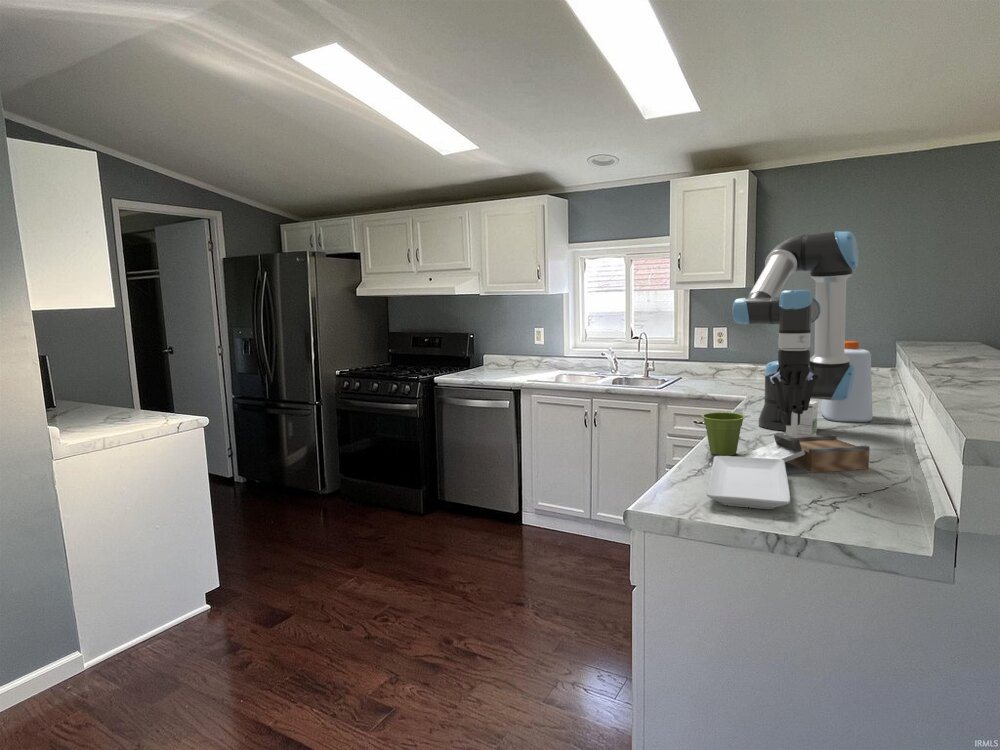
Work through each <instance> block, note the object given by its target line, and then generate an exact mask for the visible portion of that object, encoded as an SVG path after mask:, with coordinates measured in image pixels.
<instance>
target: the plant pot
mask: <svg viewBox="0 0 1000 750" xmlns="http://www.w3.org/2000/svg"><path fill="white" fill-rule="evenodd" d="M701 418H702V419H703V421H704V425H705V429H706V437H707V441H708V446H709V447H708V448H709V452H710V454H712V455H713V454H714V455H715V456H732V457H733V456H735V455H737V452H738V451H737V450H738V446H739V440H740V433H741V429H742V426H743V422H744V420H745V418H746V416H745V414H740V413H736V412H728V411H727V412H726V411H725V412H724V411H723V412H721V411H719V412H717V411H716V412H708V413H703V414H701Z"/></svg>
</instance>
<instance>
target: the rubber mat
mask: <svg viewBox="0 0 1000 750" xmlns="http://www.w3.org/2000/svg"><path fill="white" fill-rule="evenodd" d="M785 467H786V473H787V475H796V474H797V475H798V474H808V471H807V470H805V469H803V468H800V467H798V466H796V465H794V464H792V463H789V462H785Z"/></svg>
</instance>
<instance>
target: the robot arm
mask: <svg viewBox="0 0 1000 750" xmlns="http://www.w3.org/2000/svg"><path fill="white" fill-rule="evenodd" d="M858 267H859V249H858V243H857V238H856V236H855V235H854V233H853V232H852V231H829V232H819V233H818V232H817V233H807V234H798V235H794V236H792V237H789V238H788V239H785V240H783V241H782V242H780V243H779V244H778V245H776V246H774V247H773V249H772V250H771V251H770V252H769V253H768V254H767V256H766V258H765V261H764V268H763V269H762V271H761V273H760V275H759V277H758V279H756V282H755V284H754V285H753V287H752V288H751V291H750V292H749V294H748V296H746V297H741V298H738V297H737V298H736V299H735V300H734V301H733V304H732V309H731V310H732V311H731V314H732V319H733V322H735V324H738V325H747V326H748V325H749V326H750V325H778V326H779V327H778V346H777V347H778V348H779V350H778V352H777V354H778V355H777V357H778V358H777V360H774V361H769V362H768V363H767V364H766V366H765V371H764V372H765V374H764V405H763V407H762V409H761V412H760V415H759V417H758V424H759V425H760V426H762V427H761V428H763V427H764V429H767V428H768V429H767V430H772V429H773V430H774V431H785V435H787V436H789V437H792V438H797V425H799V424H800V414H802V413H803V411H806V410H808V407H809V403H810V400H811V399H812V400H813V399H815V400H822V399H824V400H831V401H833V400H846V399H847V398H848V397H849V395H850V392H851V389H852V385H853V381H854V375H855V366H853V365H850V359H849V358H848V357H846V356H845V354H844V350H845V341H846V308H847V307H846V306H847V304H846V303H847V281H848V279H850V277H852V275H853V270H856V269H857V268H858ZM795 272H810V278H811V279H812V280H814V282H815V298H813V294H812V293H813V292H812V291H811V289H792V290H789V289H788V290H783V288H784V285H785V284H786V281H787V280H788V278H789V277H790V276H792V275H793V274H794V273H795ZM779 295H780V296H779ZM812 323H814V353H813V355H812V356H811V351H810V350H809V349H810V348H811V336H812V335H811V333H812V330H811V329H812ZM759 425H758V426H759ZM760 426H759V427H760Z"/></svg>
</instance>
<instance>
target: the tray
mask: <svg viewBox="0 0 1000 750" xmlns="http://www.w3.org/2000/svg"><path fill="white" fill-rule="evenodd" d="M788 480H789V479H788V474H787V473H786V467H785V462H784V460H781V459H767V458H751V457H738V456H733V455H732V456H720V455H715V456H714V457H713V460H712V466H711V472H710V476H709V482H708V485H707V490H706V496H707V497H708V498H710V499H712V500H714V501H716V502H718V503H720V504H721V505H722V506H727V505H728V506H729V507H739V508H748V507H749V509H758V510H774V509H775V508H777V507H778V508H779V507H784V506H785V505H788V504H790V502H791V493H790V486H789V485H790V484H789V481H788Z"/></svg>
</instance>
